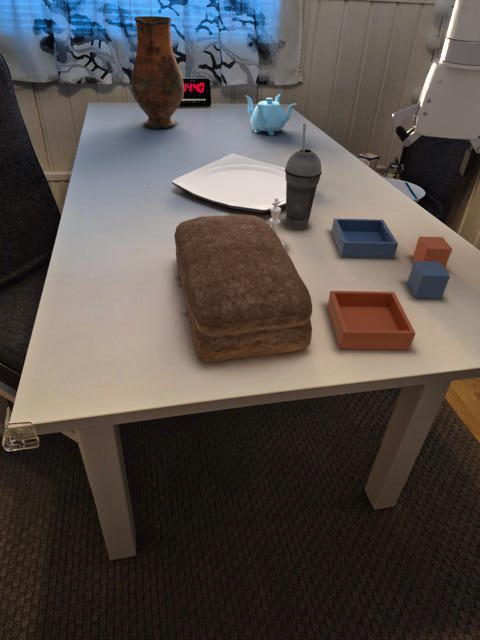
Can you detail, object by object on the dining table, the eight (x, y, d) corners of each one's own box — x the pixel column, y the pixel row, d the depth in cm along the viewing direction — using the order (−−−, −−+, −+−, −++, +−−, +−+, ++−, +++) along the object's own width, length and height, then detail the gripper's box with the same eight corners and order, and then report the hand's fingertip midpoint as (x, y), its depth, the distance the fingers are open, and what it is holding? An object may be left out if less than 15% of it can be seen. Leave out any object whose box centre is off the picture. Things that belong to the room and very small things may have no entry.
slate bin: (379, 233, 93) (383, 219, 91) (394, 258, 85) (398, 243, 83) (331, 232, 92) (333, 218, 90) (341, 257, 84) (344, 242, 82)
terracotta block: (435, 258, 85) (442, 237, 82) (444, 270, 82) (452, 249, 79) (412, 257, 85) (419, 236, 82) (420, 270, 82) (427, 248, 79)
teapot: (243, 126, 151) (244, 94, 145) (279, 124, 155) (281, 92, 149) (256, 137, 142) (257, 103, 136) (294, 135, 145) (297, 101, 139)
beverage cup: (295, 236, 90) (307, 133, 78) (272, 222, 95) (281, 123, 82) (320, 227, 94) (337, 127, 81) (297, 214, 98) (309, 118, 86)
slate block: (431, 283, 78) (439, 261, 75) (441, 298, 75) (450, 276, 72) (406, 283, 78) (413, 261, 75) (415, 298, 74) (423, 275, 72)
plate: (324, 185, 112) (325, 175, 111) (266, 226, 93) (267, 214, 92) (231, 160, 124) (231, 151, 122) (162, 192, 105) (162, 181, 103)
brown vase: (130, 130, 143) (117, 18, 124) (143, 113, 160) (134, 12, 141) (181, 133, 143) (177, 21, 124) (189, 115, 160) (186, 15, 141)
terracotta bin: (389, 307, 72) (394, 291, 70) (409, 349, 64) (415, 333, 62) (327, 306, 72) (330, 290, 70) (339, 348, 64) (343, 332, 62)
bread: (262, 251, 85) (266, 194, 78) (315, 355, 62) (328, 288, 55) (172, 258, 81) (168, 199, 74) (194, 371, 59) (192, 301, 52)
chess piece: (254, 247, 86) (257, 197, 80) (271, 239, 89) (275, 190, 83) (273, 256, 83) (278, 206, 77) (290, 248, 86) (295, 199, 80)
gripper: (525, 55, 66) (482, 169, 77) (405, 47, 68) (379, 159, 79) (541, 62, 60) (492, 185, 71) (409, 54, 63) (381, 173, 73)
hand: (433, 171), depth 75 cm, fingers open, 9 cm apart
